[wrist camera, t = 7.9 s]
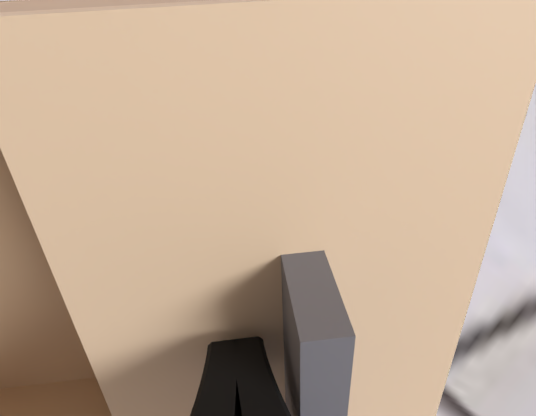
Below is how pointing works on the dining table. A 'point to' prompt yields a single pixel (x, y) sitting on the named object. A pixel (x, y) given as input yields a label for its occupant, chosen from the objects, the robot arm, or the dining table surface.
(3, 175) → the carton
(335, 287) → the lid panel
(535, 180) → the dining table surface
